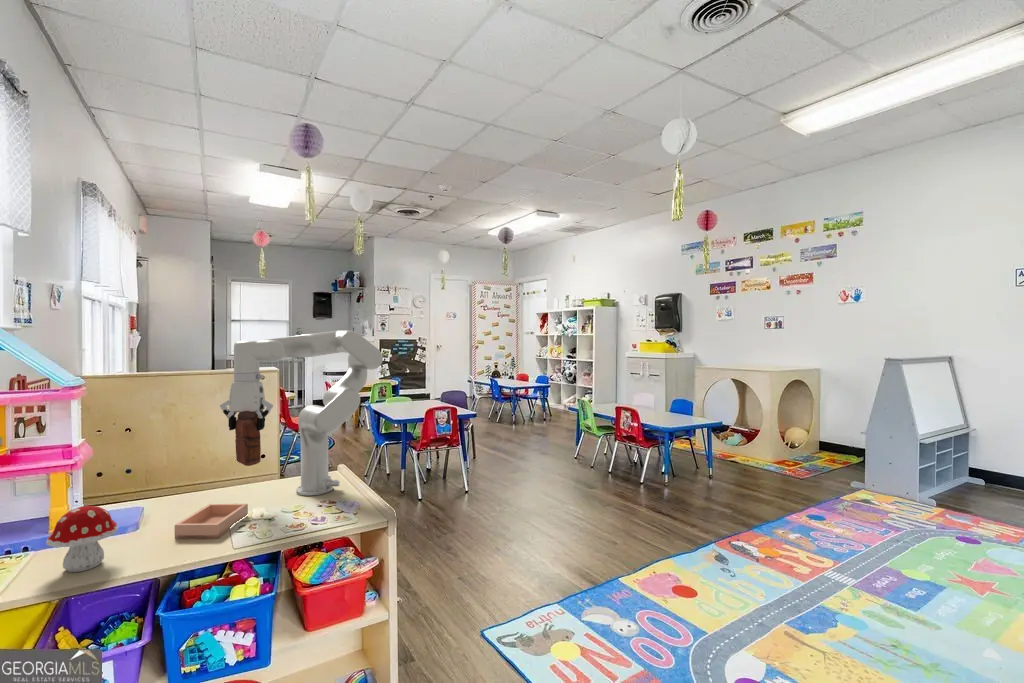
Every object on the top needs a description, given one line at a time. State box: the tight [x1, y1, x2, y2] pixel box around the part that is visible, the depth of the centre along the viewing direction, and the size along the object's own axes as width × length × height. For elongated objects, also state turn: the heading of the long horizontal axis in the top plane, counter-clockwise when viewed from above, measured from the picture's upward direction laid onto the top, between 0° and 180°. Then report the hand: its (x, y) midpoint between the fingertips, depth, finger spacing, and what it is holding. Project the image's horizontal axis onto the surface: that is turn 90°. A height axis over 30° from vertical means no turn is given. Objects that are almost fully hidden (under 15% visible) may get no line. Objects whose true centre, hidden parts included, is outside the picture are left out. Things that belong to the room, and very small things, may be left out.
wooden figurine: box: [234, 411, 262, 467], centre depth 165 cm, size 12×6×18 cm, turn 47°
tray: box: [174, 503, 249, 540], centre depth 148 cm, size 12×17×4 cm
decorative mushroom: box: [45, 505, 119, 573], centre depth 123 cm, size 14×14×15 cm
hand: (246, 429), depth 165 cm, fingers closed on wooden figurine, 8 cm apart
